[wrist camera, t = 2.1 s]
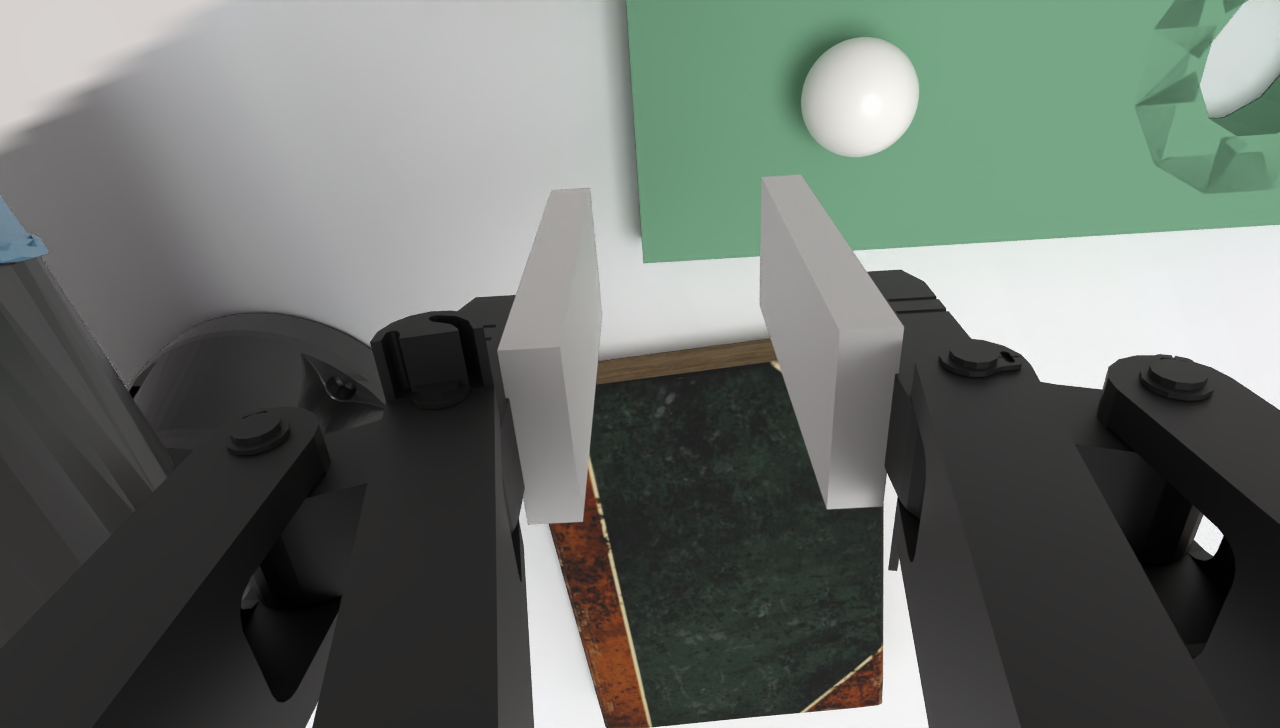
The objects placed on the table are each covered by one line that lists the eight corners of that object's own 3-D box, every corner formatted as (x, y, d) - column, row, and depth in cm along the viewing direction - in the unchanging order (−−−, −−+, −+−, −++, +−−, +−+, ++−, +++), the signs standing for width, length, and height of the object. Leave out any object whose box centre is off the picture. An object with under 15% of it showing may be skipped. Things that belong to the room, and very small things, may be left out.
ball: (790, 145, 30) (810, 174, 26) (793, 34, 28) (816, 49, 24) (893, 138, 30) (928, 166, 26) (904, 26, 28) (943, 40, 24)
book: (868, 658, 49) (865, 313, 37) (884, 707, 46) (886, 348, 34) (603, 686, 51) (516, 361, 38) (601, 735, 48) (506, 399, 35)
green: (642, 238, 35) (646, 465, 20) (621, -95, 28) (603, -126, 13) (1365, 193, 34) (1934, 397, 19) (1510, -161, 27) (2540, -273, 13)
